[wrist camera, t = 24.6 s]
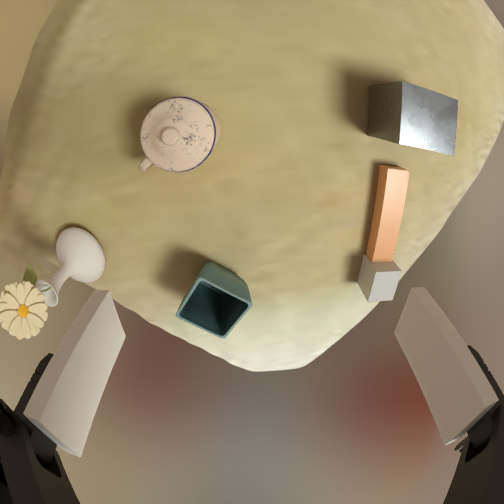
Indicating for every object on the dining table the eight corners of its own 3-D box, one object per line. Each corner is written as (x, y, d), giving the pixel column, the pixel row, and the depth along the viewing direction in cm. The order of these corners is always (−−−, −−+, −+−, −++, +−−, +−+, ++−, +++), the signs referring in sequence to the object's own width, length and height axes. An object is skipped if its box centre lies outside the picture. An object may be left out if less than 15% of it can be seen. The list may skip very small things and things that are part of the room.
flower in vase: (108, 283, 49) (49, 383, 27) (62, 267, 47) (-5, 351, 25) (110, 223, 43) (25, 318, 21) (60, 209, 41) (-32, 284, 19)
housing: (369, 85, 33) (402, 81, 24) (419, 98, 33) (457, 100, 24) (367, 135, 36) (399, 143, 28) (416, 144, 36) (453, 155, 28)
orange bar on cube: (376, 164, 39) (394, 172, 33) (402, 167, 39) (421, 176, 33) (357, 282, 49) (367, 301, 44) (380, 281, 49) (392, 299, 44)
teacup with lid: (197, 87, 33) (177, 78, 23) (235, 135, 37) (230, 143, 26) (136, 140, 36) (99, 152, 26) (172, 184, 40) (146, 209, 30)
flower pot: (207, 246, 45) (199, 276, 37) (252, 271, 47) (253, 304, 40) (184, 283, 49) (174, 316, 41) (227, 305, 51) (223, 339, 43)
